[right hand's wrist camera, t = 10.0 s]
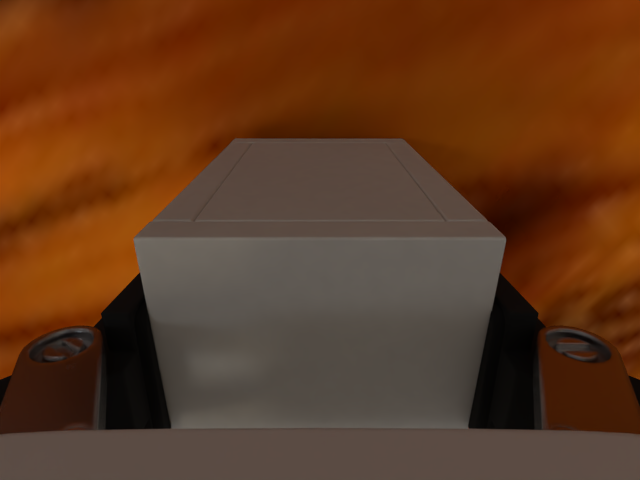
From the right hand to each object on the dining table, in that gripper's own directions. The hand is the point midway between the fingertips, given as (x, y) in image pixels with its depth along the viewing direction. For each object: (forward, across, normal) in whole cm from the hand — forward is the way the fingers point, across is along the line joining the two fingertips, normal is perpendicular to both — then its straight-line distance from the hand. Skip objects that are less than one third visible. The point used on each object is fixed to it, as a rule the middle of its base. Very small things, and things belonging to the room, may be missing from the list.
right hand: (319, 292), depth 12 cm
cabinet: (+6, 0, -5) cm, 8 cm away
